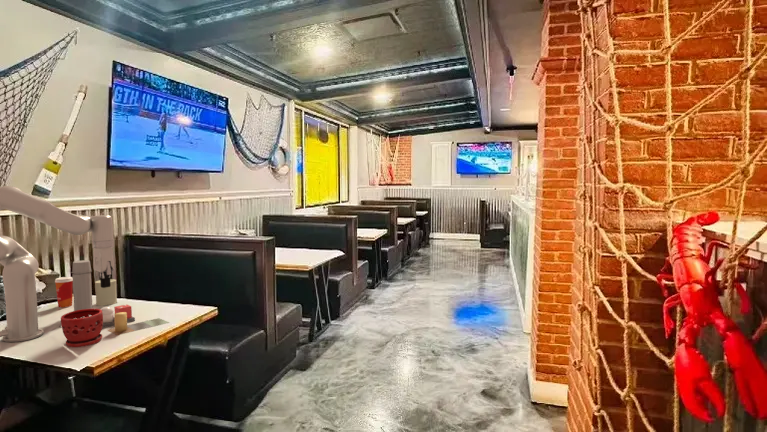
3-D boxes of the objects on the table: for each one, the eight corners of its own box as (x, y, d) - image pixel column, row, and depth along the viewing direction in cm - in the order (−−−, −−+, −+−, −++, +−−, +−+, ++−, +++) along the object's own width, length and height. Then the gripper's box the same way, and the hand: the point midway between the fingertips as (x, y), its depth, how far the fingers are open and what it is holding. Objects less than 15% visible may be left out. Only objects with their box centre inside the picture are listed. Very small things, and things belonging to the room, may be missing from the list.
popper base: (99, 330, 183) (98, 313, 182) (92, 326, 188) (91, 310, 187) (134, 322, 194) (134, 306, 193) (127, 318, 198) (127, 303, 198)
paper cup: (59, 304, 221) (58, 277, 220) (77, 303, 224) (75, 276, 223) (52, 308, 214) (51, 280, 213) (71, 307, 216) (70, 279, 215)
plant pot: (71, 339, 172) (70, 309, 171) (109, 336, 175) (108, 307, 174) (55, 351, 159) (53, 319, 159) (95, 348, 162) (94, 316, 162)
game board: (116, 336, 175) (116, 335, 175) (107, 331, 181) (106, 329, 181) (169, 323, 192) (169, 322, 191) (159, 319, 198) (159, 318, 198)
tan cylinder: (117, 332, 178) (116, 315, 177) (113, 330, 181) (112, 313, 180) (129, 330, 181) (128, 313, 181) (124, 327, 184) (124, 311, 184)
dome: (101, 325, 184) (100, 309, 184) (96, 322, 188) (95, 307, 187) (115, 322, 189) (115, 306, 188) (110, 319, 192) (110, 304, 192)
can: (121, 301, 227) (120, 278, 227) (105, 306, 218) (104, 282, 218) (107, 300, 230) (106, 277, 229) (91, 304, 221) (90, 281, 220)
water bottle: (92, 315, 203) (90, 262, 201) (71, 317, 199) (69, 263, 198) (95, 310, 211) (93, 259, 209) (75, 312, 208) (73, 260, 206)
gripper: (86, 244, 188) (89, 286, 189) (99, 247, 178) (102, 291, 180) (106, 242, 193) (108, 283, 195) (120, 244, 184) (122, 287, 186)
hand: (105, 287), depth 187 cm, fingers closed
